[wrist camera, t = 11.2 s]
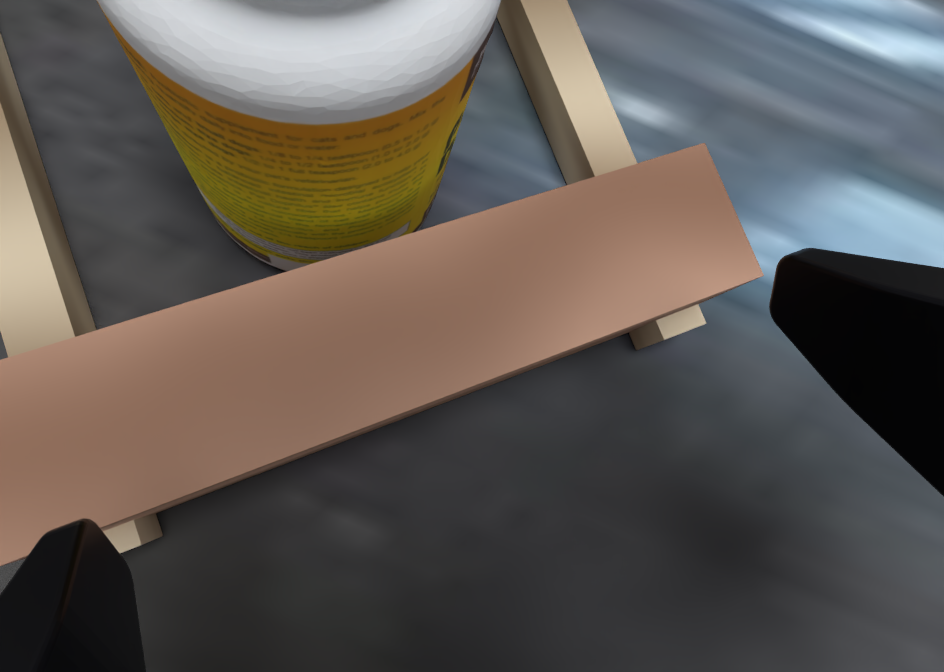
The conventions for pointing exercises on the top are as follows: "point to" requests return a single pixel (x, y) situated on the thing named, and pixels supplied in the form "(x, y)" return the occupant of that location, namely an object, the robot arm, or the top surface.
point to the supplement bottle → (309, 110)
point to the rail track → (340, 314)
